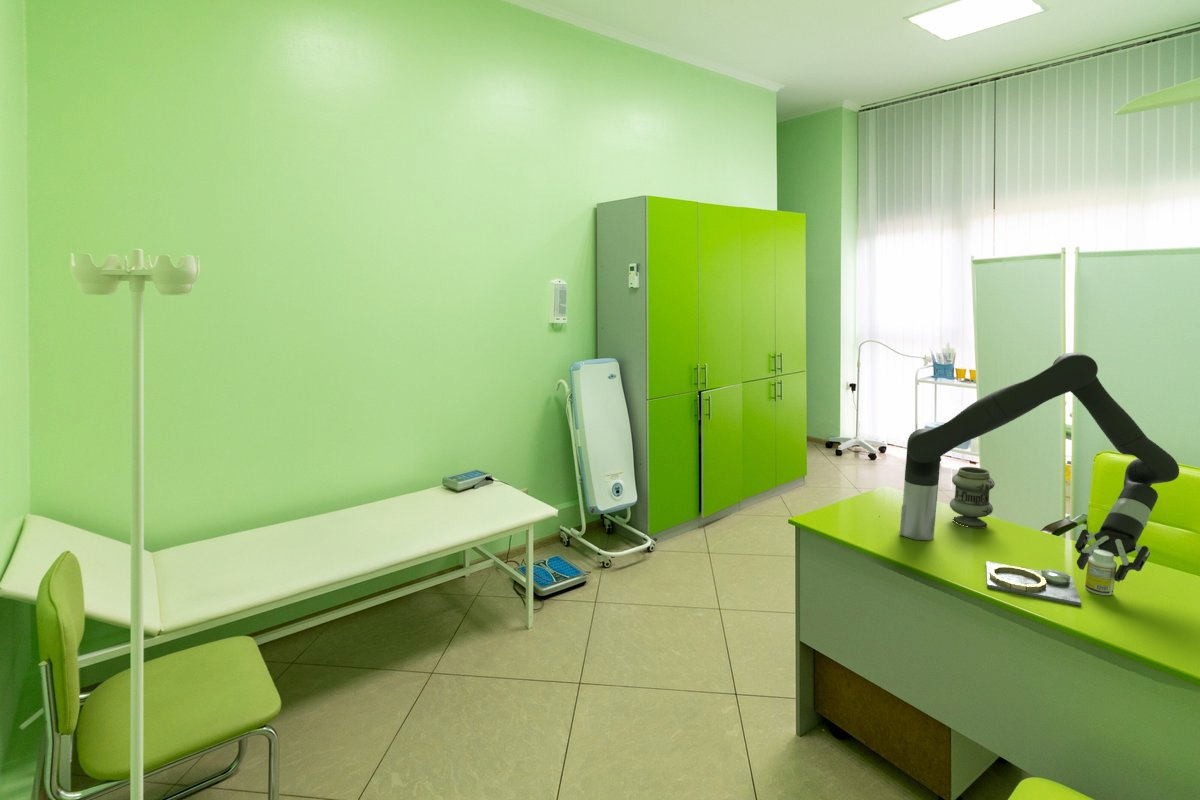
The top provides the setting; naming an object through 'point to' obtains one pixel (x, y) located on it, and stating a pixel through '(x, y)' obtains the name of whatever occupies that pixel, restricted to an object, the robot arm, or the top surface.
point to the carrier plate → (1032, 582)
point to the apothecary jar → (972, 496)
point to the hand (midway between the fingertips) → (1098, 573)
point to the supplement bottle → (1101, 573)
